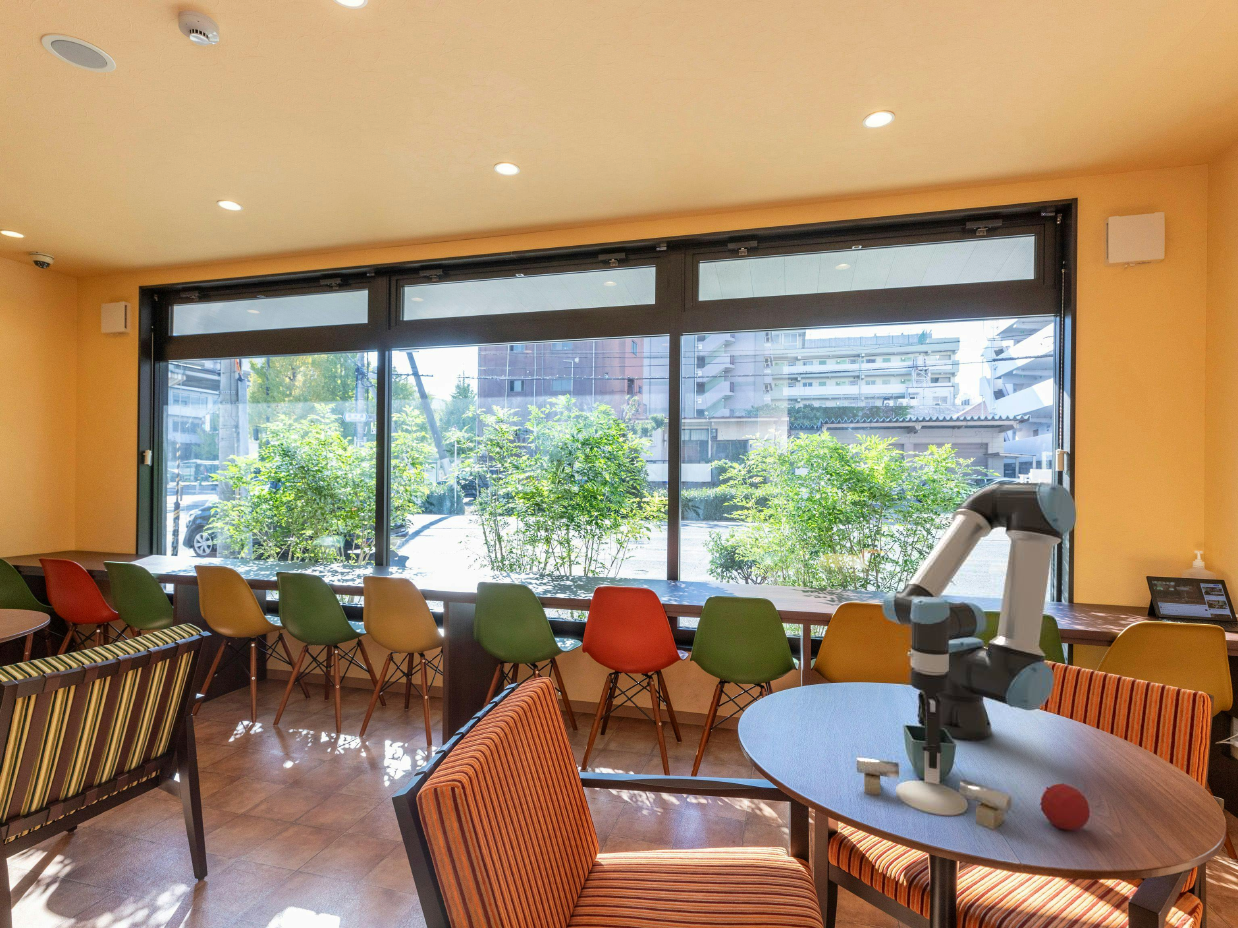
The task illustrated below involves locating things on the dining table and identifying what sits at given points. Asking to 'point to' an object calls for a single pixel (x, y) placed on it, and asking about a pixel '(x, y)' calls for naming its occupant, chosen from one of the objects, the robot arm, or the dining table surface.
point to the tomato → (1065, 807)
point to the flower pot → (917, 756)
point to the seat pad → (931, 798)
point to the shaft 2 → (986, 803)
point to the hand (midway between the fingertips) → (928, 768)
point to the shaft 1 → (876, 772)
